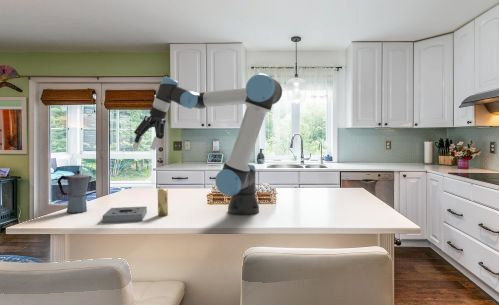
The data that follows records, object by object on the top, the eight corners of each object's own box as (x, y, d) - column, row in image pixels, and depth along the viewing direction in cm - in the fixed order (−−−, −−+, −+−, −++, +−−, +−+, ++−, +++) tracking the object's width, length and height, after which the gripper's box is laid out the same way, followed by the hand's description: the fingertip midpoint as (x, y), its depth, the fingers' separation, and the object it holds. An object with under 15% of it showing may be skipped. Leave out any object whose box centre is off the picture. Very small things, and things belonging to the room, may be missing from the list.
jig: (146, 212, 153) (146, 206, 153) (142, 220, 137) (142, 214, 137) (111, 214, 150) (111, 207, 150) (102, 222, 134) (102, 215, 134)
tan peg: (168, 213, 150) (167, 188, 150) (167, 216, 146) (167, 190, 146) (158, 214, 150) (158, 188, 149) (157, 216, 145) (157, 190, 145)
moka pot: (96, 210, 158) (95, 170, 157) (62, 216, 146) (60, 172, 146) (89, 207, 164) (88, 169, 163) (55, 212, 153) (54, 171, 152)
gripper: (168, 109, 166) (153, 146, 169) (136, 101, 142) (120, 145, 145) (179, 114, 164) (164, 152, 166) (149, 108, 140) (132, 151, 143)
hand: (144, 149), depth 156 cm, fingers open, 13 cm apart
